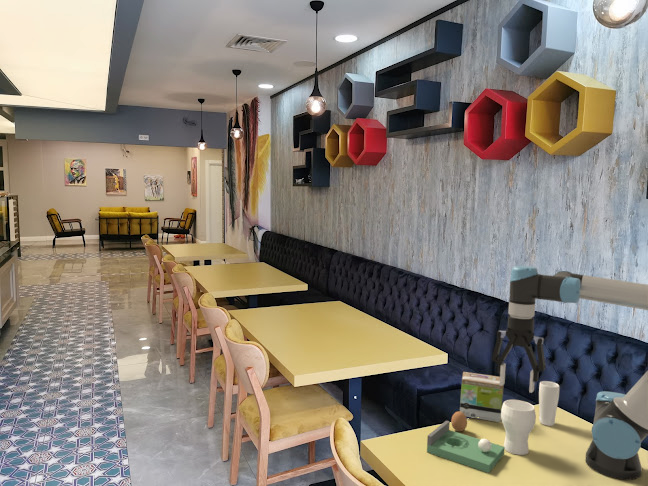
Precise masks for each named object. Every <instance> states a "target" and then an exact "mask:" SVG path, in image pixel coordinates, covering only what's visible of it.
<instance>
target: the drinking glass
mask: <svg viewBox="0 0 648 486" xmlns="http://www.w3.org/2000/svg"><path fill="white" fill-rule="evenodd" d="M538 386H539V387H538V389H539V390H538V405H539V406H538V408H539V409H538V411H539V412H538V413H539V415H538V416H539V418H538V421H539V423H540V425H541V424H542V425H543V426H548V427H551V426H552V427H553V426H554V425H555V423H556V415H557V408H558V404H559V398H560V385H559V384H558V383H556V382H554V381H549V380H542V381H540V382H539V385H538Z"/></svg>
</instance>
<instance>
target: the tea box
mask: <svg viewBox="0 0 648 486" xmlns="http://www.w3.org/2000/svg"><path fill="white" fill-rule="evenodd" d="M499 384H500V376H496V375H490V374H482V373H474V372H468V371H463V372H462V378H461V389H460V402H459V404H460V405H459V411H461V412H463V413H464V414H465V416H466V418H473V419H478V420H483V421H489V422H494V421H496V422H495V423H499V422H500V423H501V422H502V419H501V409H502V406H503V397H504V384H503V385H502V386H500V385H499ZM477 417H479V418H477Z"/></svg>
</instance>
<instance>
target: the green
mask: <svg viewBox="0 0 648 486" xmlns="http://www.w3.org/2000/svg"><path fill="white" fill-rule="evenodd" d="M450 424H451V421H449V420H445V421H444V422H443V423H442V424H440V425H439V426H437V427H436V428H435V429H434V430H433V431H432V432H431V433H429V434H428V435H427V440H426V441H427V442H426V443H427V444H426V453H428V454H432V455H435V456H437V457H441V458H443V459H446V460H449V461H452V462H455V463H458V464H460V465H464V466H466V467H469V468H472V469H475V470H478V471H481V472H484V473H487V474H490V472H491V471H492V470H493V468H494V467H495V466H496V465H497V464H498V462H499V461H500V460H501V459H502V458H503V456H504V455H505V447H504V445H499V444H496V443H493V442H490V443H491V450H490V451H489V452H482V451H481V450H480V449H479V447H478V443H479V441H480V440H481V439H480V438H476V437H473V436H470V435H467V434H464V433H461V432H459V431H455V430H454V431H453V430H451V429H450Z"/></svg>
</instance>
